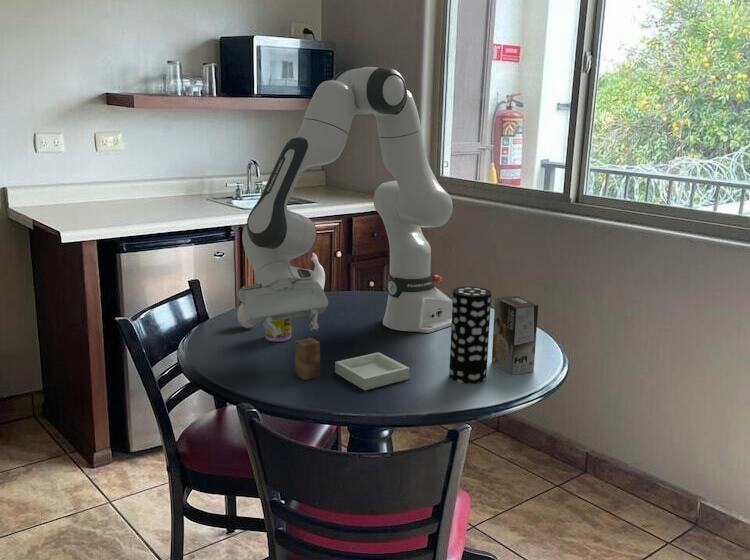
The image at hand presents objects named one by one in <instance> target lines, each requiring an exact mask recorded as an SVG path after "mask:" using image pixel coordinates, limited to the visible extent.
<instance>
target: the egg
mask: <svg viewBox="0 0 750 560" xmlns="http://www.w3.org/2000/svg"><path fill="white" fill-rule="evenodd" d="M236 317H237V322H238V324H239V325H240V326H241V327H242V328H245V329H251V328H253V327H254V326H255V325H256V324H254V325H250V324H249V323H248V322H247V321H246V319H245V315H244V311H243V305H242V303H240V305H239V306H238V309H237V315H236Z"/></svg>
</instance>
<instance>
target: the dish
mask: <svg viewBox="0 0 750 560" xmlns="http://www.w3.org/2000/svg"><path fill="white" fill-rule="evenodd" d="M334 363H335V364H334V373H336V375H339V376H340V377H342V378H344V379H345V380H347V381H348V382H350V383H352V384H353V385H354V386H356V387H358V388H360V389H362V390H363V391H367V390H372V389H375V388H376V389H377V388H380V387H383V386H386V385H387V386H388V385H391V384H395V383H398V382H403V381H407V380H410V370H411V369H410V367H408V366H406V365H405V364H402V363H400V362H398V361H397V360H395V359H393V358H391V357H389V356H387V355H386V354H383V353H382V352H379V351H378V352H373V353H370V354H365V355H360V356H355V357H351V358H347V359H341V360H338V361H335V362H334Z"/></svg>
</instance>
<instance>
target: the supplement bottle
mask: <svg viewBox="0 0 750 560" xmlns="http://www.w3.org/2000/svg"><path fill="white" fill-rule="evenodd" d="M271 323H272V324H273V325H274V326H275V327H276V328H279V327H280V329H281V332H282V335H281V337H279V338H274V337H273V335H272V332H270V331H269V330H268V329H267V328H265V327H264V329H265V330H264V331H265V336H264V337H265V339H266V340H267V341H269V342H276V343H281V342H287V341H289V340H290V339H292V318H289V319H283V320H277V321H272V322H271Z"/></svg>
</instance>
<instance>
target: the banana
mask: <svg viewBox="0 0 750 560" xmlns="http://www.w3.org/2000/svg"><path fill="white" fill-rule="evenodd" d="M310 260H311V261H312V262H313V263H314V268H313V272H314V275H315V277H314V279H313V280H316V281H317V282H318V283H319V284H320V285H321V287H322V289H323V290H324V288H325V285H326V284H325V282H326V273H325V269H324V267H323V266H322V265H321V264H320V262H319V258H318V256H317V254H316V253H315V252H312V257H311V259H310Z"/></svg>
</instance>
